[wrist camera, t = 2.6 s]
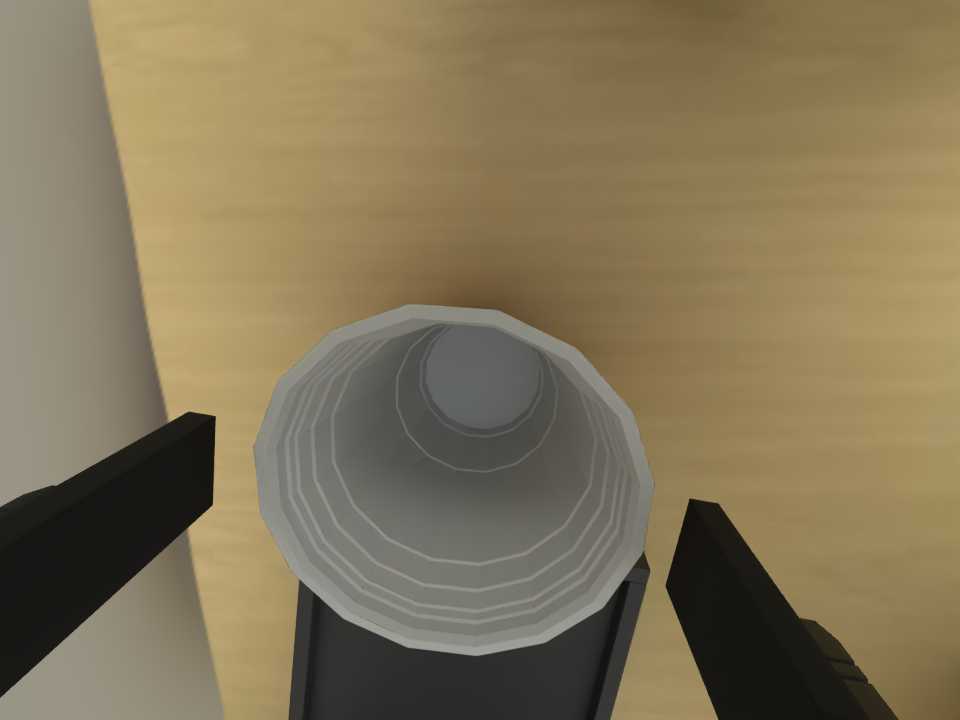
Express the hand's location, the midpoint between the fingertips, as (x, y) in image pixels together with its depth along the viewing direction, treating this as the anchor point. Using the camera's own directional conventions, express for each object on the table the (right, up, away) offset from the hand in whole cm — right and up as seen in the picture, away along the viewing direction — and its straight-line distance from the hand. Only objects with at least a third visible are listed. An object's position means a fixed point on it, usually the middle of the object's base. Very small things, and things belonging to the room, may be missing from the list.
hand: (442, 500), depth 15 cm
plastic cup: (+1, +3, +11) cm, 12 cm away
